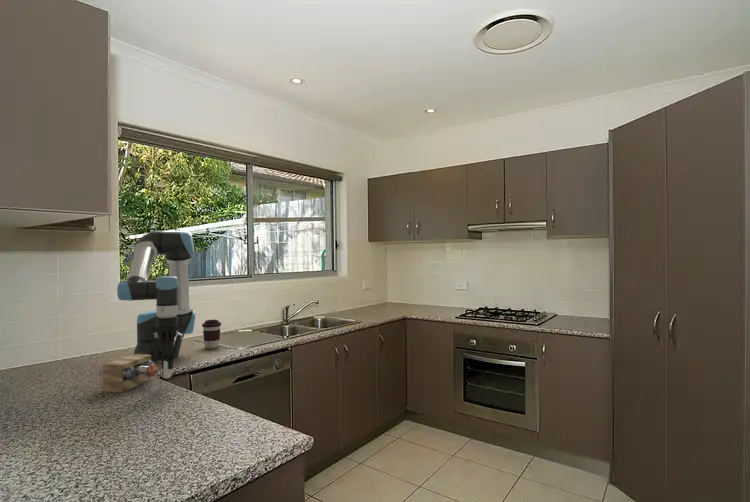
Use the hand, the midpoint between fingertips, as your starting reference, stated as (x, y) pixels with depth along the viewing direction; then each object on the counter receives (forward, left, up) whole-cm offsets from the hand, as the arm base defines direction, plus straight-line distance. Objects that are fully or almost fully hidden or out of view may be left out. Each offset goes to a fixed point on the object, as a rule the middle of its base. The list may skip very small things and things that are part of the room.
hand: (167, 377), depth 162 cm
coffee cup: (-68, -21, -4) cm, 71 cm away
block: (0, -17, -4) cm, 17 cm away
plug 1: (+5, -18, 0) cm, 18 cm away
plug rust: (0, -13, 0) cm, 12 cm away
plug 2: (-5, -18, 0) cm, 18 cm away
